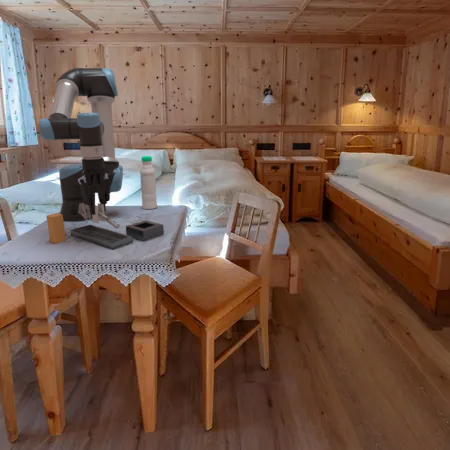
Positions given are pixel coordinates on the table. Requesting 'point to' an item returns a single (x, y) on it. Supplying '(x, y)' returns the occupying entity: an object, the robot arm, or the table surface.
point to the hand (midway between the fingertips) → (99, 221)
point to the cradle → (101, 236)
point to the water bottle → (148, 184)
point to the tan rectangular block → (56, 228)
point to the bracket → (83, 209)
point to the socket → (145, 230)
